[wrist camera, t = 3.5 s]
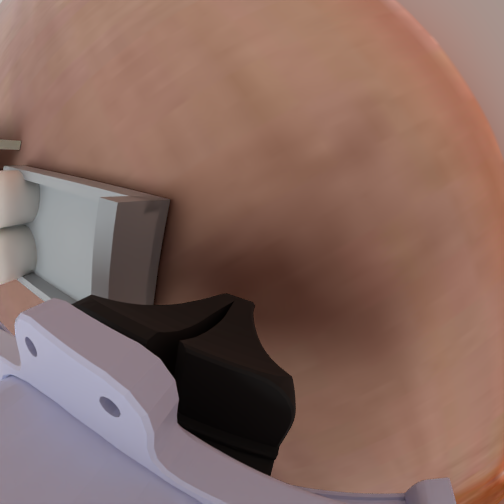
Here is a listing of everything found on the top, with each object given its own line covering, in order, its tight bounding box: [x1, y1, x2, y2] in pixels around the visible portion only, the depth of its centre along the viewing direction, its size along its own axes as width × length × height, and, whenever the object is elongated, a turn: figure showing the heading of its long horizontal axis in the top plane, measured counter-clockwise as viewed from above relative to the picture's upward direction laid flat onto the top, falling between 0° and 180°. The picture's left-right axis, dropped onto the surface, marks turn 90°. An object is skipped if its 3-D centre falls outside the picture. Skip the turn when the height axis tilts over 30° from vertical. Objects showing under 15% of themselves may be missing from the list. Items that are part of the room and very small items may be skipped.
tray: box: [0, 165, 170, 305], centre depth 12 cm, size 15×8×6 cm, turn 75°
